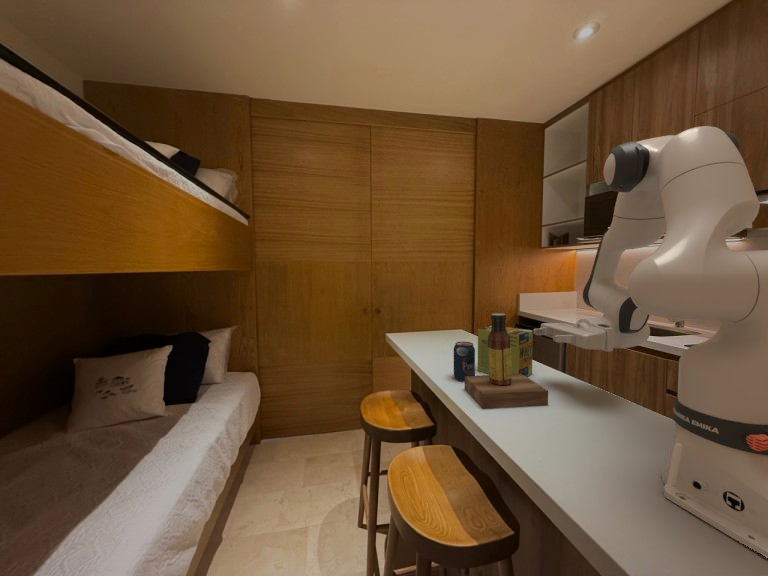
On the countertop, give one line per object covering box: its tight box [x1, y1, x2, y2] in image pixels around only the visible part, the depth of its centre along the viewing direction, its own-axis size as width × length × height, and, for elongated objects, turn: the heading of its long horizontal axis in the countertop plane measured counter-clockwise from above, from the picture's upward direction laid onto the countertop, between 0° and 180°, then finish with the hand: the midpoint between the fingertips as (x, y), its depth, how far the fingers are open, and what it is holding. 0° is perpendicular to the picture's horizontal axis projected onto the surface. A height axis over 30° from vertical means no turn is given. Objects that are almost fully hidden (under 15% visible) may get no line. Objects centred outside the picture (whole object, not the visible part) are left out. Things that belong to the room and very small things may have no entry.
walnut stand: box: [464, 374, 549, 410], centre depth 92 cm, size 14×18×4 cm
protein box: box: [477, 325, 534, 378], centre depth 112 cm, size 10×15×16 cm
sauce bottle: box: [488, 312, 512, 385], centre depth 91 cm, size 6×6×20 cm
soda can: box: [453, 341, 476, 383], centre depth 107 cm, size 7×7×12 cm
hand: (544, 335), depth 91 cm, fingers open, 8 cm apart
